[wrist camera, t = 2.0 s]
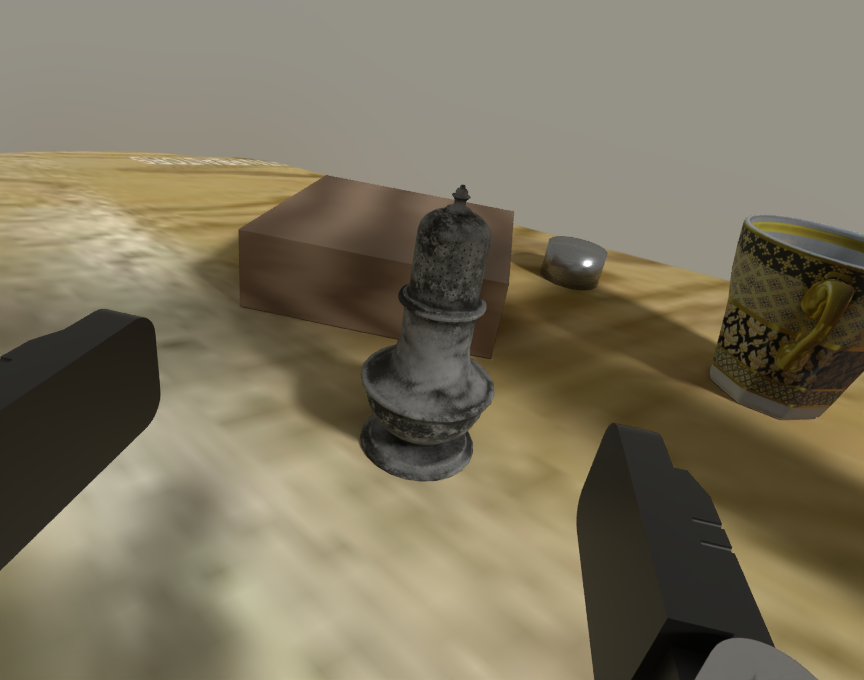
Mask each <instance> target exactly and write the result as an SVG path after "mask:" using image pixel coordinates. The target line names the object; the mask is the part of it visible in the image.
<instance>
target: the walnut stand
mask: <svg viewBox="0 0 864 680" xmlns="http://www.w3.org/2000/svg"><path fill="white" fill-rule="evenodd" d="M454 201H455V200H452V199H446V198H441V197H436V196H431V195H426V194H421V193H415V192H410V191H405V190H400V189H395V188H389V187H384V186H379V185H374V184H369V183H364V182H358V181H354V180H348V179H343V178H338V177H333V176H328V175H326V176H324V177H323V178H321V179H319V180H318V181H316V182H315V183H313V184H311V185H310V186H308V187H306V188H305V189H303V190H302V191H300V192H298V193H297V194H295V195H294V196H292V197H290V198H289V199H287V200H285V201H284V202H282V203H281V204H279V205H277V206H276V207H274V208H273V209H271V210H269V211H268V212H266V213H264V214H263V215H261V216H260V217H258V218H256V219H255V220H253V221H251V222H250V223H248V224H247V225H245V226H243V227H242V228H240V229H239V273H240V306H243V307H247V308H252V309H257V310H262V311H266V312H271V313H276V314H281V315H285V316H290V317H295V318H300V319H304V320H309V321H314V322H319V323H323V324H328V325H333V326H338V327H342V328H347V329H352V330H357V331H361V332H366V333H371V334H376V335H380V336H385V337H390V338H395V339H399V337H400V333H401V326H402V319H403V312H404V306H403V305H402V304H401V303H400V301H399V298H398V294H399V290H400V289H401V288H402V287H403V286H404V285H406V284H409V283H410V277H411V270H412V263H413V256H414V249H415V242H416V235H417V229H418V226H419V223H420V220H421V219H422V218H423V217H424V216H425V215H426V214H427V213H429V212H431V211H433V210H435V209H438V208H445V207H446V206H447V205H449V204H453V203H454ZM466 207H469V208H470V209H471V211H472V212H473V213H476V214H478V215H479V216H480V217H481V218H482V219H483V220H484V221H485V222H486V223H487V224H488V226H489V228H490V231H491V244H490V249H489V254H488V258H487V263H486V267H485V272H484V277H483V281H482V286H481V291H480V296H481V297H482V298H483V299H484V301H485V302H486V311H485V313H484V315H482V316H481V317H479V318H478V319H476V323H475V327H474V332H473V337H472V341H471V346H470V354H471V355H475V356H480V357H485V358H490V359H491V356H492V352H493V348H494V344H495V340H496V336H497V331H498V327H499V323H500V319H501V315H502V311H503V307H504V302H505V298H506V294H507V290H508V286H509V276H510V262H511V248H512V233H513V219H514V211H508V210H503V209H498V208H493V207H487V206H483V205H477V204H472V203H467V202H466Z"/></svg>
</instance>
